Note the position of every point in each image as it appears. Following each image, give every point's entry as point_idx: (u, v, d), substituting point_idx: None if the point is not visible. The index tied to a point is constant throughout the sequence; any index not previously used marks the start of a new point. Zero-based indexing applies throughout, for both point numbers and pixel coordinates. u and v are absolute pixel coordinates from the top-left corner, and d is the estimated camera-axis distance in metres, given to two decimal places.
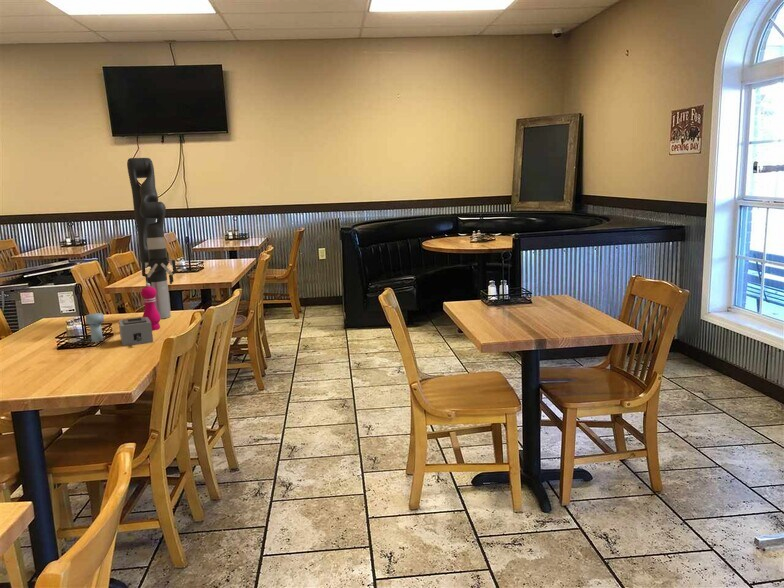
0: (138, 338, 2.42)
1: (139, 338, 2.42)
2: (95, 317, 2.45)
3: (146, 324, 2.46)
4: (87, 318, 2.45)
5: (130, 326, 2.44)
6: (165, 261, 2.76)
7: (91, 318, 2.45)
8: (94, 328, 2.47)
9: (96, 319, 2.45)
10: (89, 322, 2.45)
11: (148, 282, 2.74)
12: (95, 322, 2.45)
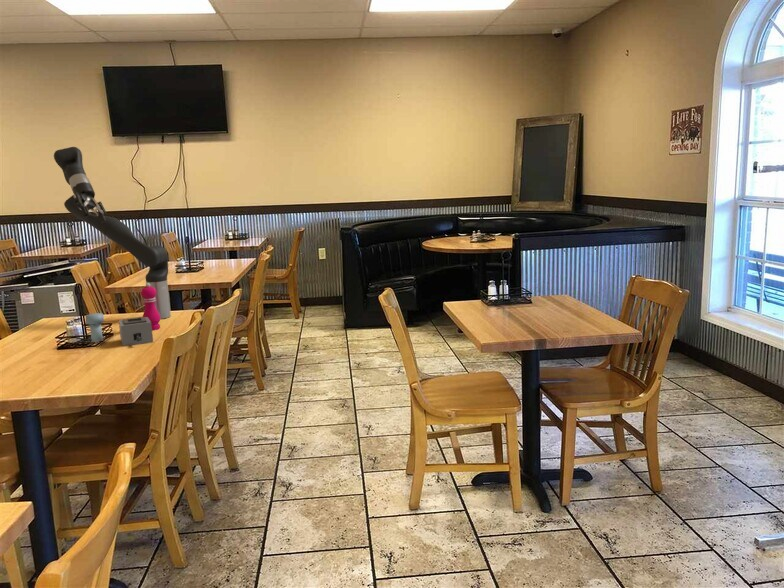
0: (138, 338, 2.42)
1: (139, 338, 2.42)
2: (95, 317, 2.45)
3: (146, 324, 2.46)
4: (87, 318, 2.45)
5: (130, 326, 2.44)
6: (94, 199, 2.58)
7: (91, 318, 2.45)
8: (94, 328, 2.47)
9: (96, 319, 2.45)
10: (89, 322, 2.45)
11: (85, 211, 2.48)
12: (95, 322, 2.45)
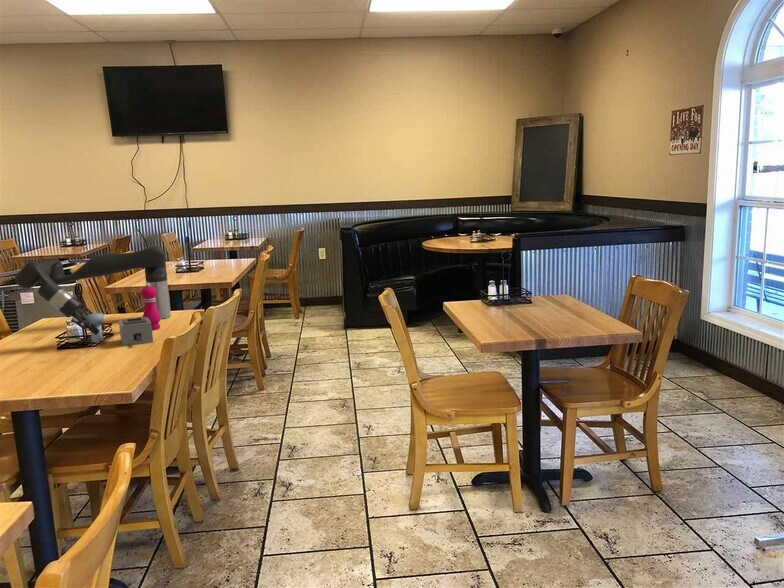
0: (138, 338, 2.42)
1: (139, 338, 2.42)
2: (95, 317, 2.45)
3: (146, 324, 2.46)
4: None
5: (130, 326, 2.44)
6: (82, 309, 2.50)
7: (91, 318, 2.45)
8: None
9: (96, 319, 2.45)
10: None
11: (95, 329, 2.45)
12: (95, 322, 2.45)
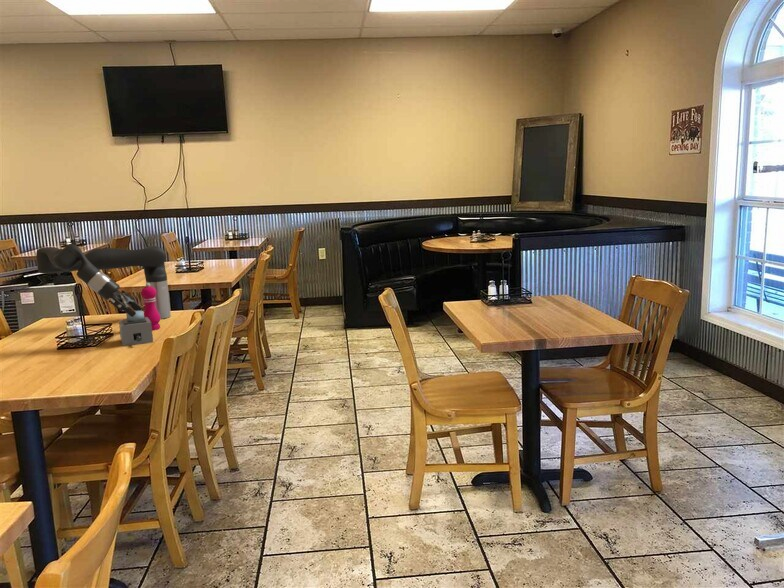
0: (138, 338, 2.42)
1: (139, 338, 2.42)
2: None
3: (146, 324, 2.46)
4: (127, 315, 2.47)
5: (130, 326, 2.44)
6: (120, 292, 2.49)
7: None
8: None
9: (135, 317, 2.46)
10: (128, 319, 2.47)
11: (131, 311, 2.44)
12: (134, 320, 2.46)
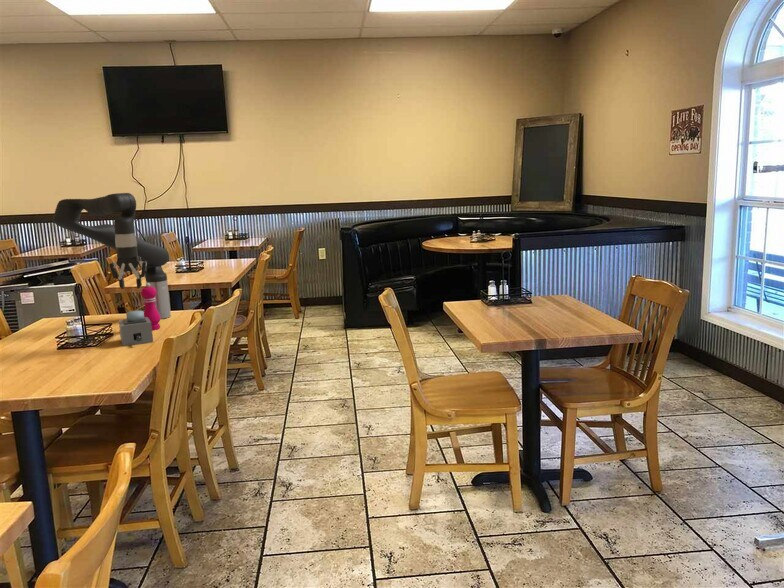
0: (138, 338, 2.42)
1: (139, 338, 2.42)
2: (134, 314, 2.46)
3: (146, 324, 2.46)
4: (127, 315, 2.47)
5: (130, 326, 2.44)
6: None
7: (130, 315, 2.46)
8: None
9: (135, 317, 2.46)
10: (128, 319, 2.47)
11: None
12: (134, 320, 2.46)
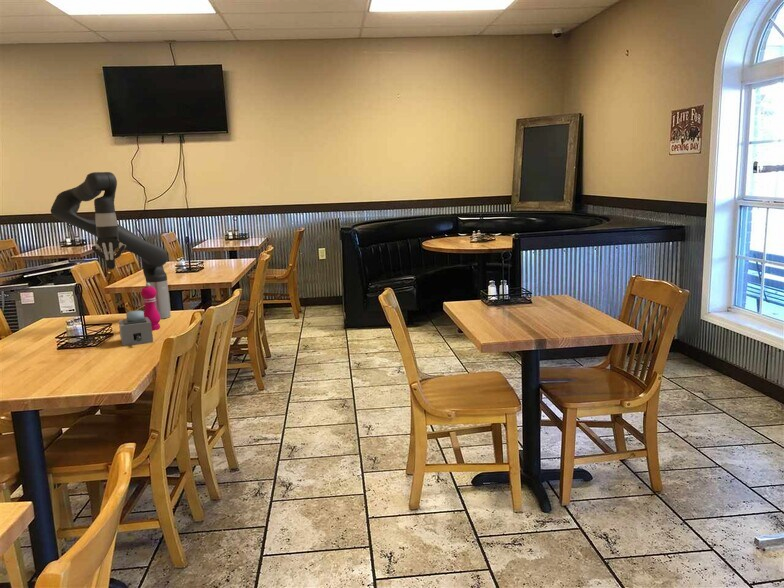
0: (138, 338, 2.42)
1: (139, 338, 2.42)
2: (134, 314, 2.46)
3: (146, 324, 2.46)
4: (127, 315, 2.47)
5: (130, 326, 2.44)
6: None
7: (130, 315, 2.46)
8: None
9: (135, 317, 2.46)
10: (128, 319, 2.47)
11: (114, 264, 2.47)
12: (134, 320, 2.46)
